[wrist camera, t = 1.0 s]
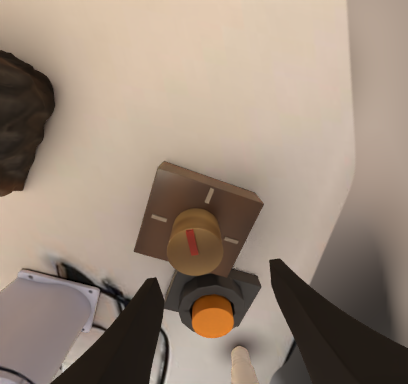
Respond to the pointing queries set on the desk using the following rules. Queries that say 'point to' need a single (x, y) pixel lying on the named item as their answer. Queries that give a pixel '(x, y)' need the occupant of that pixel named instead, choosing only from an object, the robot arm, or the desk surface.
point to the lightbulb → (242, 367)
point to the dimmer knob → (195, 243)
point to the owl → (21, 119)
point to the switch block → (207, 285)
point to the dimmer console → (203, 199)
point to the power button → (212, 316)
